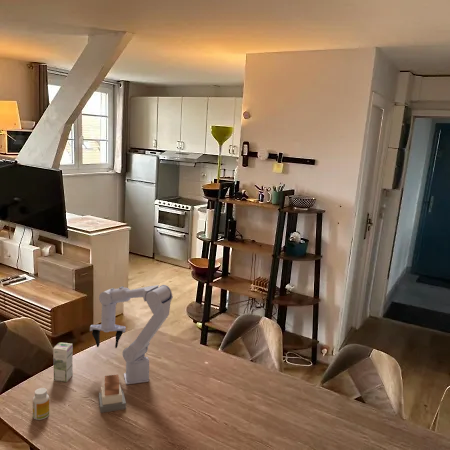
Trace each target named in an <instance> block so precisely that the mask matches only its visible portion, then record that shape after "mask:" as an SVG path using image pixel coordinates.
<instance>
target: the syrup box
mask: <svg viewBox="0 0 450 450" xmlns="http://www.w3.org/2000/svg"><path fill="white" fill-rule="evenodd" d="M73 349H74V347H73V343H68V342H58V343H57V344H56V345H54V347H53V349H52V350H53V351H52V352H53V355H52V356H53V357H52V359H53V365H52V366H53V381H54V382H55V381H57V382H64V383H68V381H69V380H70V379H71V378H72V377H73V375H74V373H73V372H74V371H73V370H74V369H73V352H74V351H73Z"/></svg>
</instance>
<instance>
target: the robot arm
mask: <svg viewBox="0 0 450 450" xmlns="http://www.w3.org/2000/svg"><path fill="white" fill-rule="evenodd" d="M173 297H174V296H173V292H172V289H171V288H170V287H169V285H166V284H161V285H159V284H156V285H150V286H144V287H138V288H133V289H130V288H128V287H126V286H125V287H124V286H120V287H118V288H115V287H112V288H109V289H106V290H104V291H102V292H100V294H99V296H98V300H99V303H100V304H101V315H100V316H101V319H100V322H101V323H100V324H99V323H98V324H91V325H90V326H89V332H92V333H91V334H92V337H93V339H94V341H95V344H96V348H99V346H100V343H101V342H100V335H101V332H104V333H109V332H116V333H115V345H114V348H115V349H117V348H118V345H119V341H120V339H121V338H122V335H123V333H126V326H124V325H119V324H116V312H117V311H116V309H117V307H116V306H117V303H125V302H129V301H130V300H131V299H133V298H134V299H136V298H143V301H144V302H146V304H147V305H148V307H149V309H150V311H151V313H152V314H153V315H152V316H151V318H150V319H149V320H148V322H147V323H146V324H145V326H144V327H143V329H142V330H141V331H140V332H139V335H138V336H137V337H136V338H135V339H134V341H133V342H132V343H130V344H129V346H128V347H126V348H123V350H122V357H123V360H124V361H125V372H124V373H123V376H124V382H125V384H126V385H132V384H140V383H141V384H142V383H147V382H148V383H149V382H150V359H149V357H148V356H146V355H145V354H147V352H148V349H149V346H150V342H151V340H152V339H153V338H154V336H155V335H156V334H157V332H158V331H159V330H160V328H161V326H162V325H163V324H164V323H165V321H166V320H167V318H168V317H169V315H170V310H171V302H172V300H173Z"/></svg>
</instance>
